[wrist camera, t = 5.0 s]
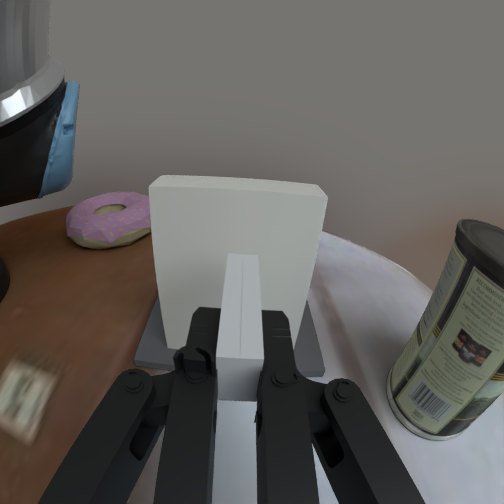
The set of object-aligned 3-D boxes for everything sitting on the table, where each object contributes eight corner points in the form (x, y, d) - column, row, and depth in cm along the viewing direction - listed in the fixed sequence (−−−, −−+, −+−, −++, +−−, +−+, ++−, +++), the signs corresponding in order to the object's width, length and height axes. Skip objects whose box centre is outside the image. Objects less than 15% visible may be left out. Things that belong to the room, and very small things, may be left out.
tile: (167, 348, 21) (148, 186, 14) (174, 325, 23) (162, 174, 17) (291, 355, 21) (327, 197, 15) (288, 331, 24) (316, 184, 17)
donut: (76, 267, 31) (67, 232, 28) (64, 228, 40) (59, 201, 38) (176, 237, 40) (175, 205, 38) (140, 208, 50) (139, 183, 47)
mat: (135, 365, 20) (133, 359, 19) (179, 251, 36) (179, 245, 36) (322, 376, 20) (325, 370, 20) (292, 257, 37) (293, 252, 37)
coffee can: (474, 368, 19) (542, 248, 13) (471, 451, 12) (589, 315, 5) (396, 339, 24) (450, 205, 17) (370, 421, 16) (472, 256, 10)
